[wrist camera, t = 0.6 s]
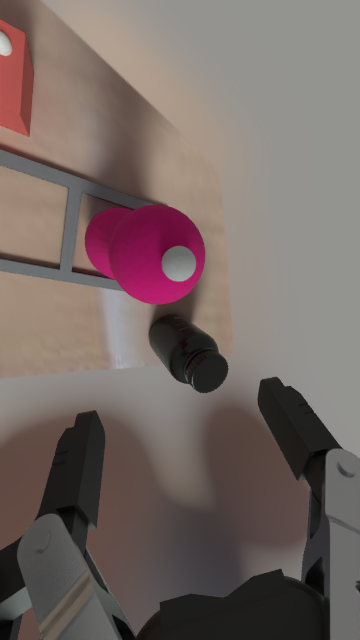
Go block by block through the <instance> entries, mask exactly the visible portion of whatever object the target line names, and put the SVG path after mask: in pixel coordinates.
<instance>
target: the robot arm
mask: <svg viewBox="0 0 360 640" xmlns="http://www.w3.org/2000/svg"><path fill="white" fill-rule="evenodd" d="M258 406H259V409H260V412H261V413H262V415H263V417H264V419H265V421H266V423H267V425H268V427H269V428H270V430H271V432H272V434H273V436H274V438H275V440H276V442H277V443H278V445H279V447H280V449H281V451H282V453H283V455H284V457H285V459H286V461H287V462H288V464H289V466H290V468H291V470H292V472H293V474H294V476H295V477H296V479H297V481H302V480H307V482H308V484H309V486H310V490H309V506H308V523H307V539H306V545H305V550H304V554H303V561H302V574H301V581H299V580H297V579H294V578H291V577H288V576H284V575H283V572H282V570H281V569H278V570H275V571H271V572H268V573H264V574H260V575H257V576H253V577H251V578H250V579H249V580H248V581H246V582H245V583H244V584H242V585H241V586H240V587H239V588H237V589H236V590H235V591H233V592H232V593H231V594H230V595H228V596H227V597H224V598H221V597H213V596H204V595H197V594H188V595H184V596H181V597H177V598H174V599H170V600H166V601H163V602H160V610H159V611H157V612H156V613H155V614H154V615H153V616H152V617H151V618H150V619H149V620H148V621H147V622H146V624H145V625H144V626H143V627H142V629H141V630H140V632H139V633H138V635H137V636H136V634H135V632H134V630H133V628H132V627H131V625H130V623H129V621H128V619H127V617H126V615H125V614H124V612H123V610H122V609H121V607H120V605H119V604H118V602H117V601H116V599H115V598H114V596H113V595H112V593H111V591H110V589H109V588H108V586H107V584H106V582H105V581H104V578H103V576H102V575H101V573H100V571H99V569H98V567H97V565H96V563H95V562H94V560H93V558H92V556H91V555H90V552H89V550H88V548H87V547H86V540H87V532H88V530H91V529H96V528H97V518H98V508H99V498H100V488H101V479H102V469H103V459H104V449H105V431H104V428H103V425H102V423H101V421H100V419H99V416H98V414H97V412H96V411H95V410H94V411H89V412H83V413H79V414H78V415H77V417H76V420H75V425H74V427H72V428H67V429H66V430H65V431H64V433H63V434H62V436H61V438H60V439H59V441H58V444H57V448H56V451H55V456H54V459H53V462H52V467H51V470H50V474H49V477H48V480H47V484H46V488H45V492H44V495H43V499H42V502H41V506H40V509H39V513H38V515H37V517H36V519H35V521H34V522H33V523H32V524H31V525H30V526H29V528H28V529H27V530H26V532H25V533H24V535H23V536H22V537H20V538H19V539H18V540H17V541H15V542H14V543H12V544H10V545H9V546H7V547H5V548H4V549H2V550H0V640H17V638H18V634H19V629H20V624H21V619H22V614H23V613H24V612H25V611H26V610H28V609H29V608H30V607H32V606H33V609H34V612H35V615H36V618H37V621H38V624H39V628H40V638H39V640H360V458H358V457H357V456H356V455H354V454H353V453H351V452H349V451H346V450H344V449H343V448H342V447H341V446H340V445H339V444H338V443H337V441H336V440H335V439H334V437H333V436H332V435H331V433H330V432H329V431H328V429H327V428H326V427H325V426H324V424H323V423H322V422H321V420H320V419H319V418H318V416H317V415H316V414H315V413H314V411H313V410H312V408H311V407H310V406H309V405H308V403H307V402H306V400H305V399H304V398H303V396H302V395H301V394H300V393H299V392H298V391H296V390H295V389H294V388H292V387H291V386H286V387H285V386H284V385H283V383H282V382H281V380H280V379H279V378H278V377H272V378H267V379H262V380H261V381H260V387H259V393H258Z"/></svg>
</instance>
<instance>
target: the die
mask: <svg viewBox="0 0 360 640" xmlns="http://www.w3.org/2000/svg"><path fill="white" fill-rule="evenodd" d="M33 78H34V71H33V67H32V62H31V58H30V53H29V48H28V44H27V39H26V34H25V33H24V32H22V31H20V30H18V29H17V28H15V27H13V26H11V25H10V24H8V23H6V22H4V21H3V20H1V19H0V125H1V126H3V127H6V128H8V129H11V130H13V131H16V132H18V133H21V134H23V135H26V136H28V137H29V133H30V119H31V105H32V92H33Z"/></svg>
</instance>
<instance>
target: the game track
mask: <svg viewBox="0 0 360 640" xmlns="http://www.w3.org/2000/svg"><path fill="white" fill-rule="evenodd" d="M0 165H1V166H4V167H7V168H10V169H13V170H16V171H19V172H22V173H25V174H28V175H31V176H34V177H37V178H40V179H43V180H46V181H49V182H52V183H55V184H58V185H61V186H64V187H67V188H69V194H68V203H67V211H66V220H65V229H64V237H63V246H62V254H61V263H60V269H56V268H50V267H45V266H40V265H34V264H29V263H23V262H18V261H12V260H7V259H2V258H0V271H4V272H10V273H16V274H22V275H28V276H34V277H40V278H46V279H52V280H59V281H65V282H71V283H77V284H83V285H89V286H95V287H101V288H107V289H114V290H120V291H124V290H123V289H122V288H121V287H120V286H119V284H118V283H117V281H116V280H115V279H110V278H105V277H99V276H94V275H89V274H83V273H78V272H72V264H73V256H74V248H75V240H76V233H77V225H78V217H79V209H80V202H81V194H82V193H85V194H88V195H91V196H94V197H97V198H100V199H103V200H106V201H109V202H112V203H115V204H118V205H121V206H124V207H127V208H130V209H133V210H135V209H136V208H139V207H142V206H146V205H154V204H151V203H148V202H146V201H143V200H140V199H137V198H135V197H132V196H129V195H126V194H123V193H121V192H118V191H115V190H112V189H109V188H107V187H104V186H101V185H98V184H96V183H93V182H90V181H87V180H84V179H82V178H79V177H76V176H73V175H70V174H68V173H65V172H62V171H59V170H56V169H54V168H51V167H48V166H45V165H43V164H40V163H37V162H34V161H31V160H29V159H26V158H23V157H20V156H17V155H15V154H12V153H9V152H6V151H4V150H1V149H0Z"/></svg>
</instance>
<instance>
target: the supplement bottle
mask: <svg viewBox="0 0 360 640" xmlns="http://www.w3.org/2000/svg"><path fill="white" fill-rule="evenodd" d="M149 342H150V345H151V347H152V349H153V351H154V352H155V353H156V355H157V356H158V357H159V359H160V360H161V361H162V363H163V364H164V365H165V367H166V368H167V369H168V371H169V372H170V373H171V375H172V376H173V377H174V378H175V379H176V380H177V381H179V382H182V383H185V384H190V385H191V386H192V387H193V388H194V389H195V390H196V391H198V392H200V393H208V392H211V391H214V390H215V389H217V388H218V387H219V386H220V385H221V384H222V383H223V381H224V380H225V378H226V376H227V373H228V365H227V362H226V359H225V358H224V357H223V356H222V355H220V354H219V350H218V346H217V344H216V342H215V341H214V339H213V338H212V337H210V336H209V335H208V334H206V333H205V332H204V331H202V330H201V329H199V328H198V327H197V326H195V325H194V324H192V323H191V322H190V321H188V320H187V319H185V318H184V317H182V316H180V315H176V314H170V315H166V316H163V317H162V318H160V319H159V320H157V321H156V323H155V324H154V325H153V327H152V328H151V331H150V335H149Z"/></svg>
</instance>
